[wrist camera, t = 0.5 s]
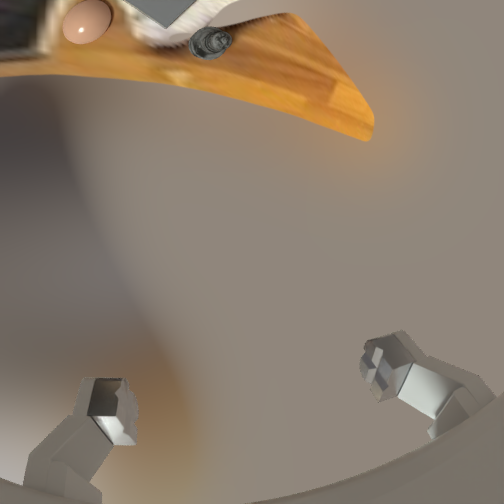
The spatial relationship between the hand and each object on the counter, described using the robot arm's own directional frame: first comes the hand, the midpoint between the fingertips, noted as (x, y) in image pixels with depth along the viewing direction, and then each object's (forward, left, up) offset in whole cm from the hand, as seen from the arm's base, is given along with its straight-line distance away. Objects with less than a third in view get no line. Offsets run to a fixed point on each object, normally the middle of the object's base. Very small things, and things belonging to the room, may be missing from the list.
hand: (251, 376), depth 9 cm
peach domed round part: (-19, +7, -47) cm, 51 cm away
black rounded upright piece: (0, +15, -47) cm, 50 cm away
